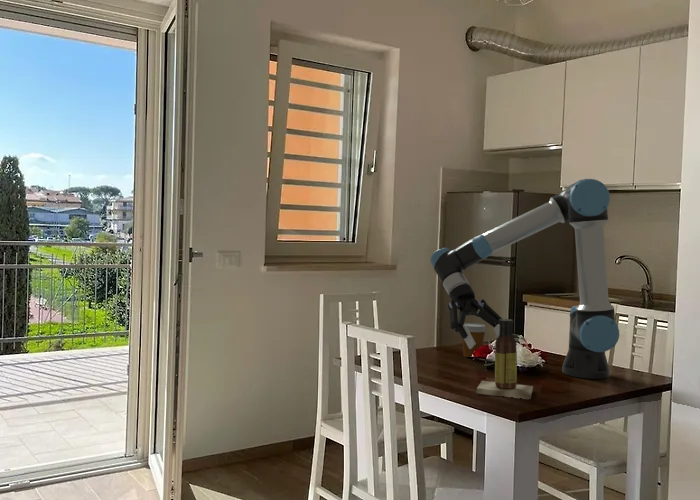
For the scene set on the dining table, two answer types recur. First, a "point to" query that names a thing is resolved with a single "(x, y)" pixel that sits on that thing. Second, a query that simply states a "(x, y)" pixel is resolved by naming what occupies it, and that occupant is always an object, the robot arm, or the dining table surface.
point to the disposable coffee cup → (474, 337)
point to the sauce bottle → (505, 356)
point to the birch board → (505, 390)
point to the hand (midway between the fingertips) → (489, 345)
